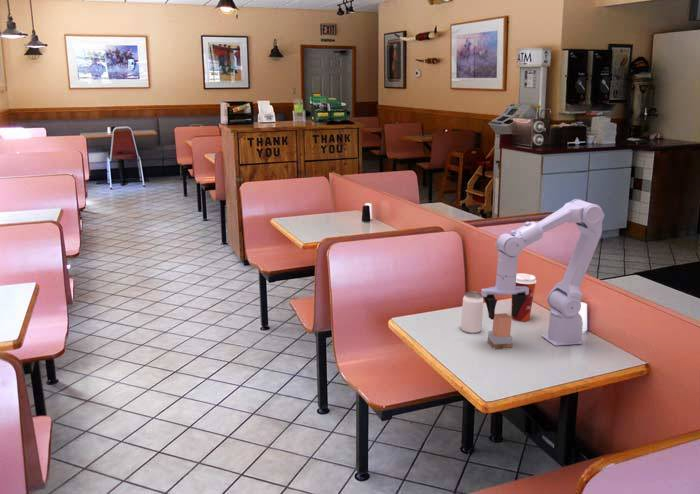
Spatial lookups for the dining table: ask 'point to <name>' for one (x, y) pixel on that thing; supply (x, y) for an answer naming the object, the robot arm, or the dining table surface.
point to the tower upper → (499, 339)
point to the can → (472, 312)
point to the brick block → (501, 325)
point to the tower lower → (499, 345)
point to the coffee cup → (526, 307)
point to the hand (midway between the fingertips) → (502, 317)
